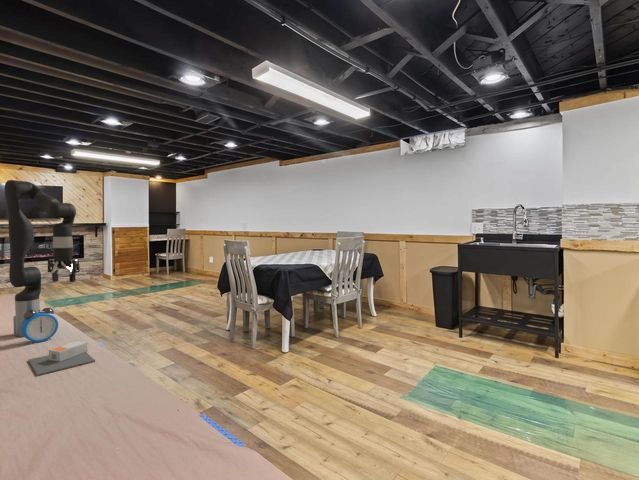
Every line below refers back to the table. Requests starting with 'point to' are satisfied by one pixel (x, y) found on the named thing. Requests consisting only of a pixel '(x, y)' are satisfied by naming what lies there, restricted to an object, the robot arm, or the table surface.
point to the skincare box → (68, 351)
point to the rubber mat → (58, 363)
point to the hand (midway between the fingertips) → (63, 281)
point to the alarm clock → (39, 325)
